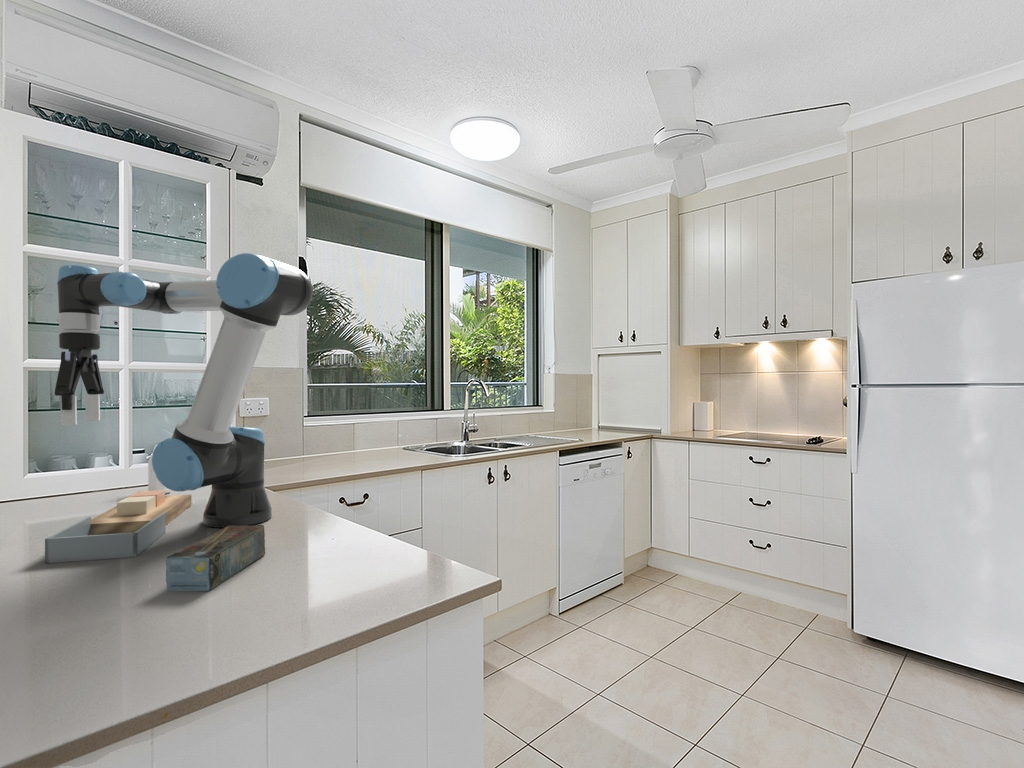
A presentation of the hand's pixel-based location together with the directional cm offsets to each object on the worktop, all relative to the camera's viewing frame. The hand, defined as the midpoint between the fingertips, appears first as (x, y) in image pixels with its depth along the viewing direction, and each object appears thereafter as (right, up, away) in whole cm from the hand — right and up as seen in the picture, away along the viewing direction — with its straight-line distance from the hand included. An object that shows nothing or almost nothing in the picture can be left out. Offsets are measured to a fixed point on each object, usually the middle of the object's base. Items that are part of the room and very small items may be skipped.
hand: (81, 422), depth 128 cm
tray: (+18, -25, -15) cm, 34 cm away
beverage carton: (+48, -25, -29) cm, 62 cm away
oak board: (+10, -24, +6) cm, 27 cm away
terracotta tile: (+10, -21, +9) cm, 25 cm away
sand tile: (+12, -21, +2) cm, 24 cm away
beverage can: (-5, -24, +37) cm, 44 cm away
